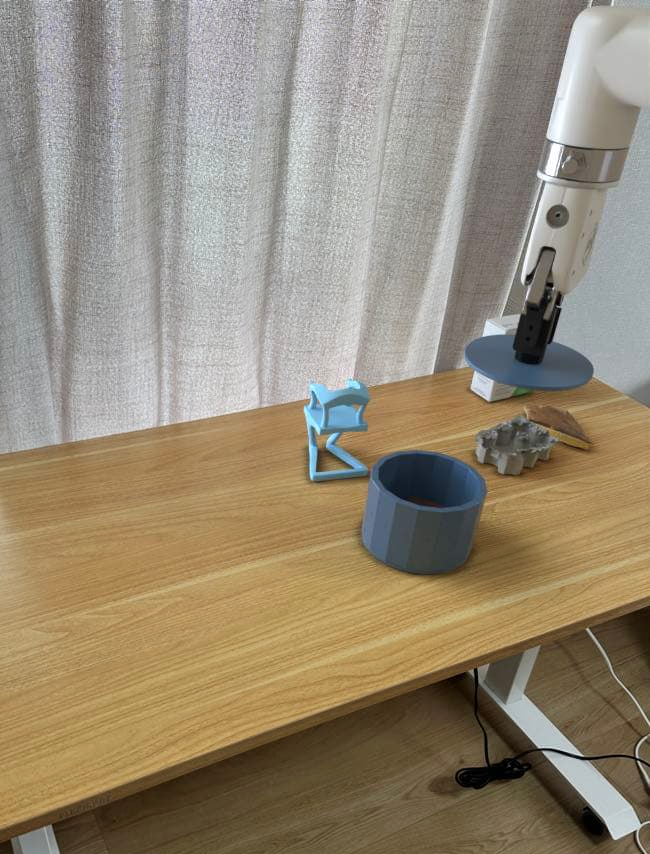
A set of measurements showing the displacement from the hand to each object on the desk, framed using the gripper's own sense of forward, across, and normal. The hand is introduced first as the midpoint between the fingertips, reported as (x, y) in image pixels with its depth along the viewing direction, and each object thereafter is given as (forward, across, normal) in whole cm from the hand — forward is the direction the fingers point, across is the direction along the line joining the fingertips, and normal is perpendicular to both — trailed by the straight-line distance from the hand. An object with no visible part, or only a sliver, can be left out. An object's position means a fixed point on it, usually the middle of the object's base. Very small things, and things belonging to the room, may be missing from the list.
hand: (532, 344), depth 87 cm
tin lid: (+2, 0, 0) cm, 2 cm away
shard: (+22, +27, -2) cm, 35 cm away
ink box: (+22, +34, +9) cm, 41 cm away
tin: (+22, -11, +5) cm, 25 cm away
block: (+21, -11, +5) cm, 24 cm away
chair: (+22, -1, +21) cm, 31 cm away
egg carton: (+22, +15, +1) cm, 27 cm away
